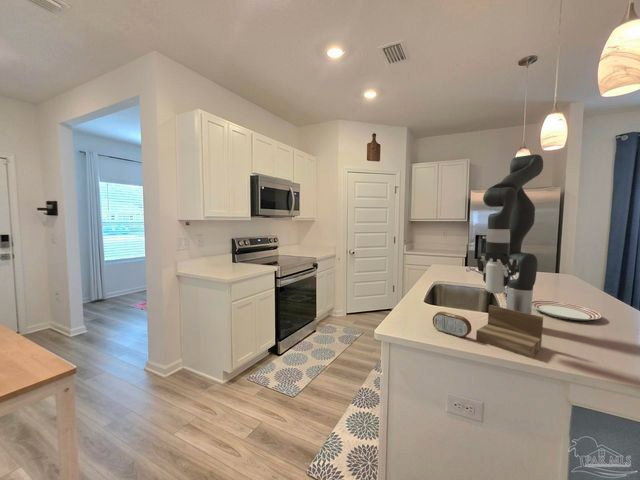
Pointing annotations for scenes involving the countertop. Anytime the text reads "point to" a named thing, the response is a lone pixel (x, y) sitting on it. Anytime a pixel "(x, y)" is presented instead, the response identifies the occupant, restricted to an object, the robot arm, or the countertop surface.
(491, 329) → the walnut shelf
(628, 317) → the countertop surface
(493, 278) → the beverage can
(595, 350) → the countertop surface
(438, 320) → the tin
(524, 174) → the robot arm
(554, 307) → the dinner plate
